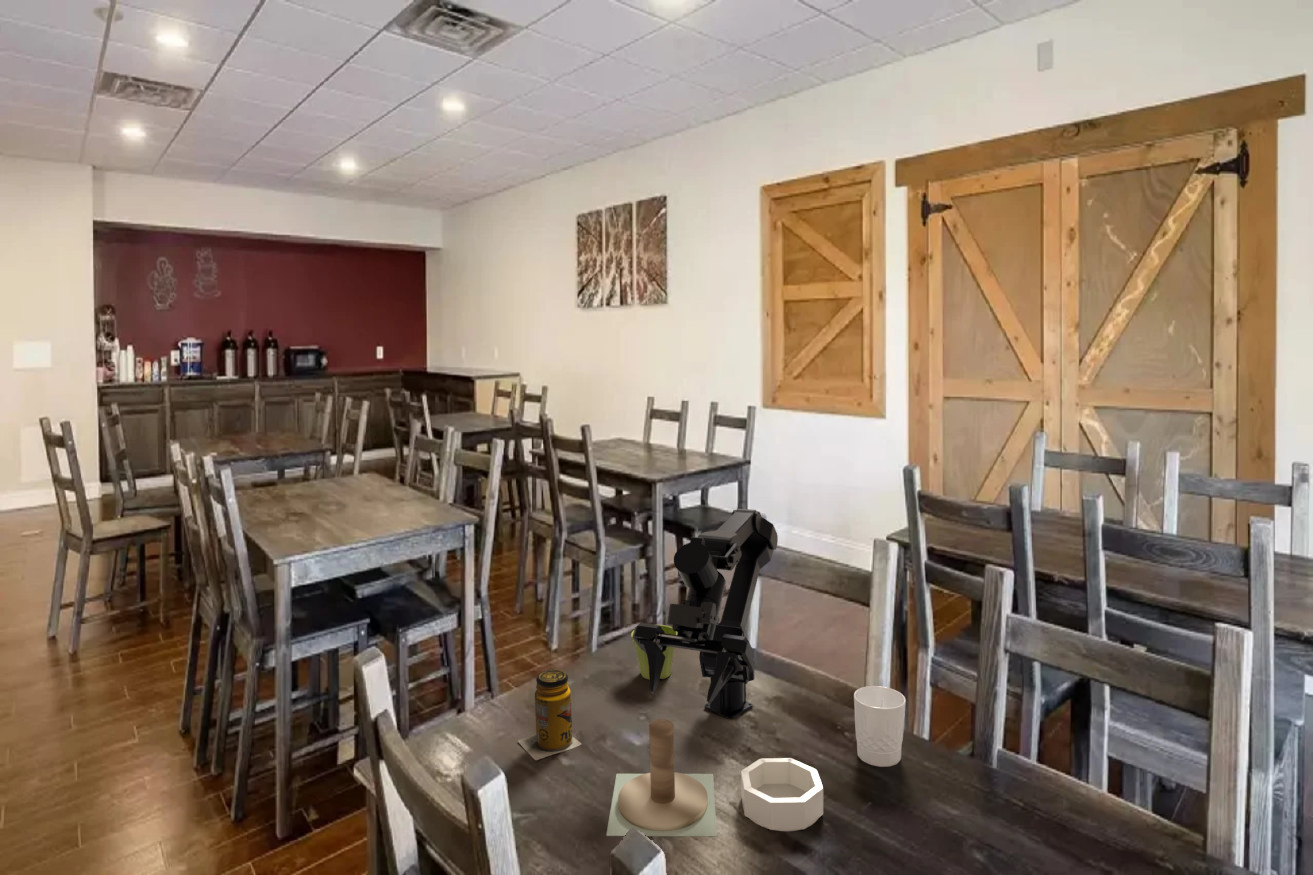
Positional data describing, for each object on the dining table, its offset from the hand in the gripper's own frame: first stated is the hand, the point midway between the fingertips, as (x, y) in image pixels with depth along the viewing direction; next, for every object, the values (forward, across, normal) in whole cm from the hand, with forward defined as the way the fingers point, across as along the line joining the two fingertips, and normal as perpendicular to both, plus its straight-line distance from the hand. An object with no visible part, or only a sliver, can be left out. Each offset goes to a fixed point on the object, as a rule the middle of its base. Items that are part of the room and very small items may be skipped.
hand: (679, 697), depth 117 cm
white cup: (-3, +27, +21) cm, 35 cm away
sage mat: (+14, 0, +4) cm, 15 cm away
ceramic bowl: (+11, +16, +8) cm, 21 cm away
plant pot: (-14, -18, +32) cm, 40 cm away
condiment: (+8, -24, +11) cm, 28 cm away
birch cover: (+14, 0, +4) cm, 15 cm away
